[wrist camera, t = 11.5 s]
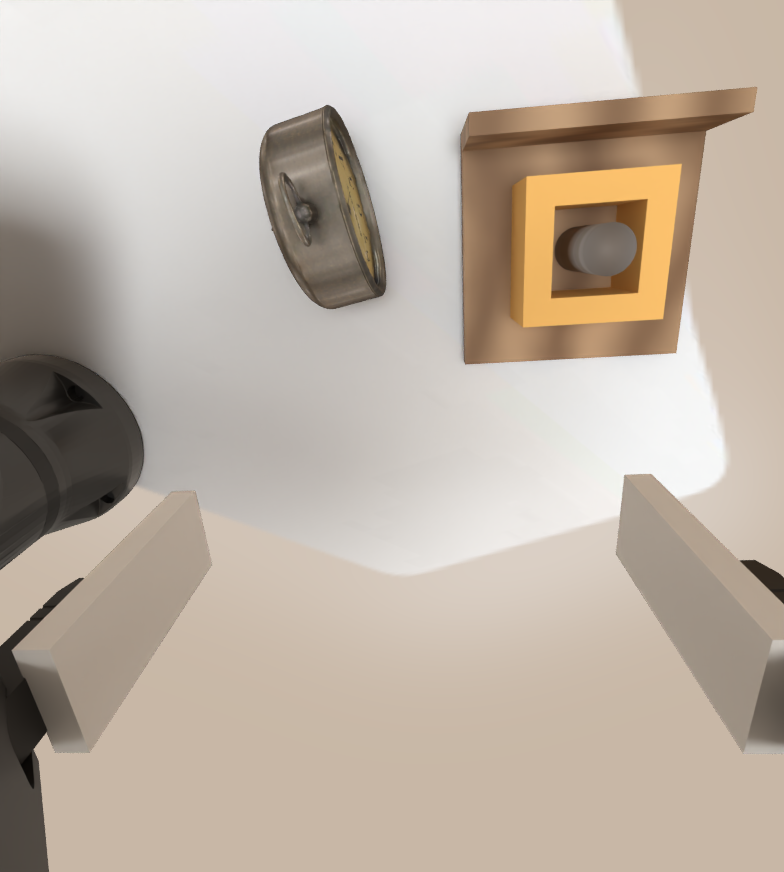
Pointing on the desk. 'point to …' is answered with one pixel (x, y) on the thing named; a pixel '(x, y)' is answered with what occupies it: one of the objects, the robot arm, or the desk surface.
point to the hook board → (578, 214)
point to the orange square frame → (636, 207)
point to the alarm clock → (322, 209)
